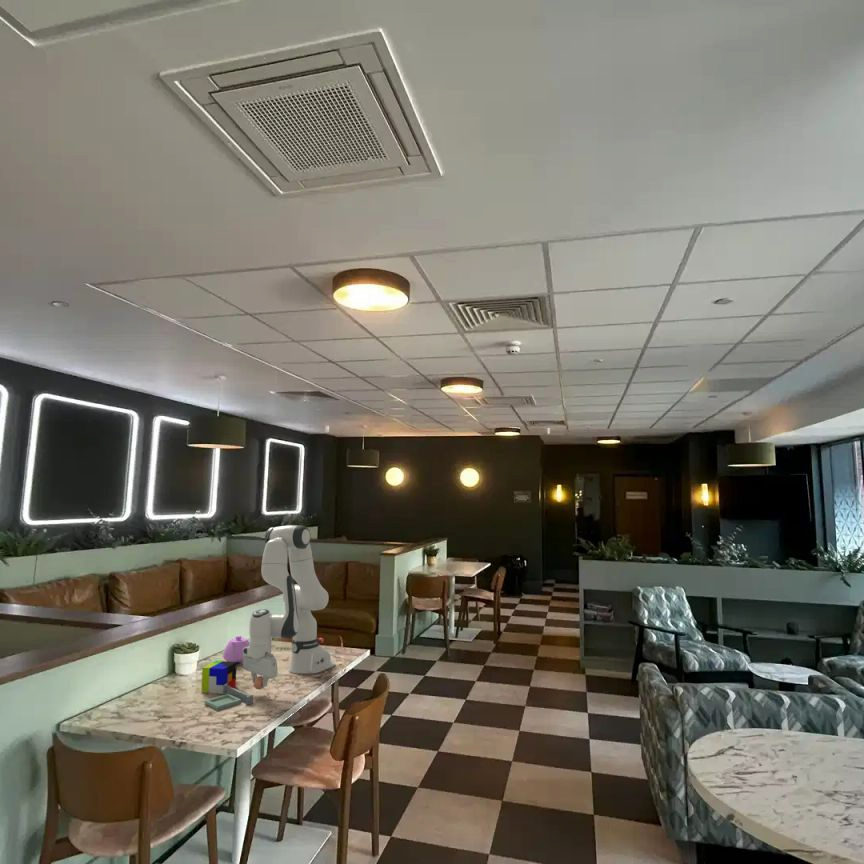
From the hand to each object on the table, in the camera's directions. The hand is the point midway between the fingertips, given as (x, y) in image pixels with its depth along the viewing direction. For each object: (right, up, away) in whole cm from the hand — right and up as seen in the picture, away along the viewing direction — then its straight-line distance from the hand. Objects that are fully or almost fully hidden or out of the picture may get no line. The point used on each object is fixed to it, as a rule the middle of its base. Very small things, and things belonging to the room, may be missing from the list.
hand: (259, 684), depth 234 cm
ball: (0, +1, 0) cm, 1 cm away
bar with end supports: (-8, -4, -4) cm, 10 cm away
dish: (-12, -3, -10) cm, 16 cm away
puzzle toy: (-20, -5, +7) cm, 22 cm away
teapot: (-26, -10, +46) cm, 54 cm away
